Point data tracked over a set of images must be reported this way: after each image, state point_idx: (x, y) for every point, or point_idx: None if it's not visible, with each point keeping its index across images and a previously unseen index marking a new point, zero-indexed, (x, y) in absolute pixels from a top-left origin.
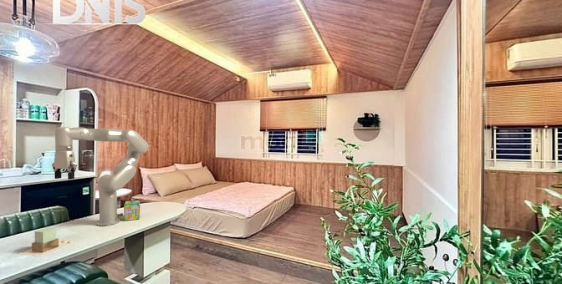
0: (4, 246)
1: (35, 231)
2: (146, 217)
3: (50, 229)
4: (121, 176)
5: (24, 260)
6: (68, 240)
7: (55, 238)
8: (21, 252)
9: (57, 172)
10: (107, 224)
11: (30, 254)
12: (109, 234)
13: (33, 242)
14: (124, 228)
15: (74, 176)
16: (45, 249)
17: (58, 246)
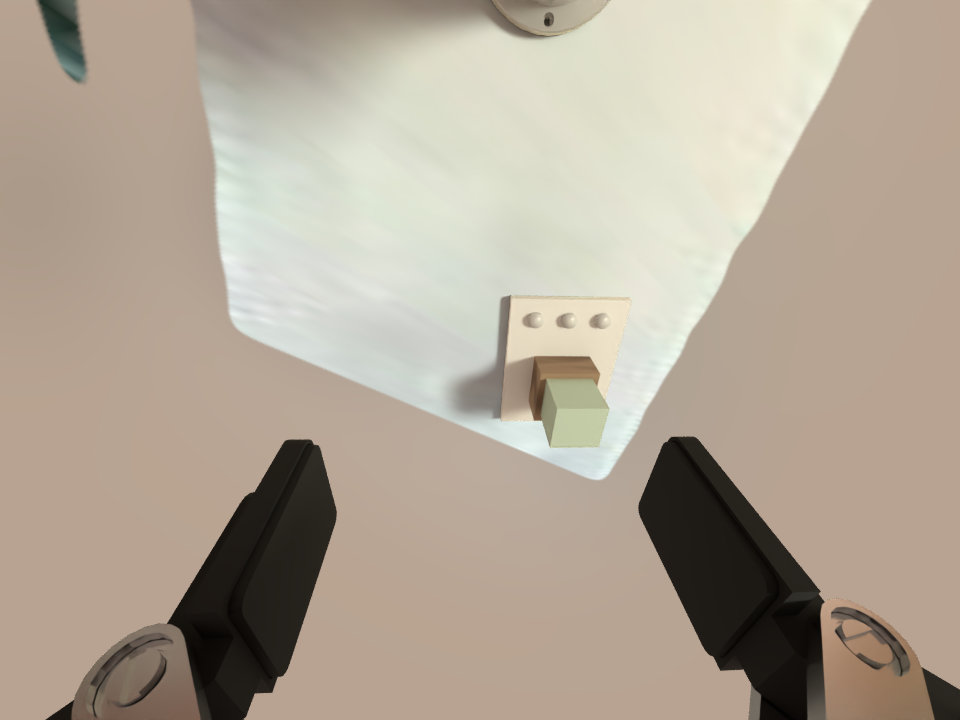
0: (355, 381)
1: (555, 447)
2: None
3: (599, 422)
4: None
5: None
6: (575, 304)
7: (593, 381)
8: (503, 413)
9: (277, 643)
10: (602, 8)
11: None
12: (710, 170)
13: (536, 416)
14: (757, 40)
15: (721, 468)
16: None
17: (589, 357)
